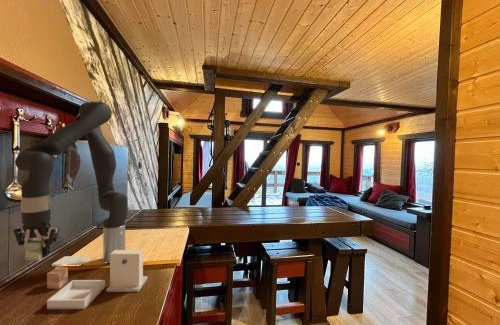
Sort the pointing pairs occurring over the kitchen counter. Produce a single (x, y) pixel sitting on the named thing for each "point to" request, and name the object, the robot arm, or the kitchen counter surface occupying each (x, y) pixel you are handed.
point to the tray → (76, 294)
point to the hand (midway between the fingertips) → (37, 256)
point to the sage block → (33, 250)
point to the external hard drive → (70, 260)
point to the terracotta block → (57, 278)
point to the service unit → (126, 271)
